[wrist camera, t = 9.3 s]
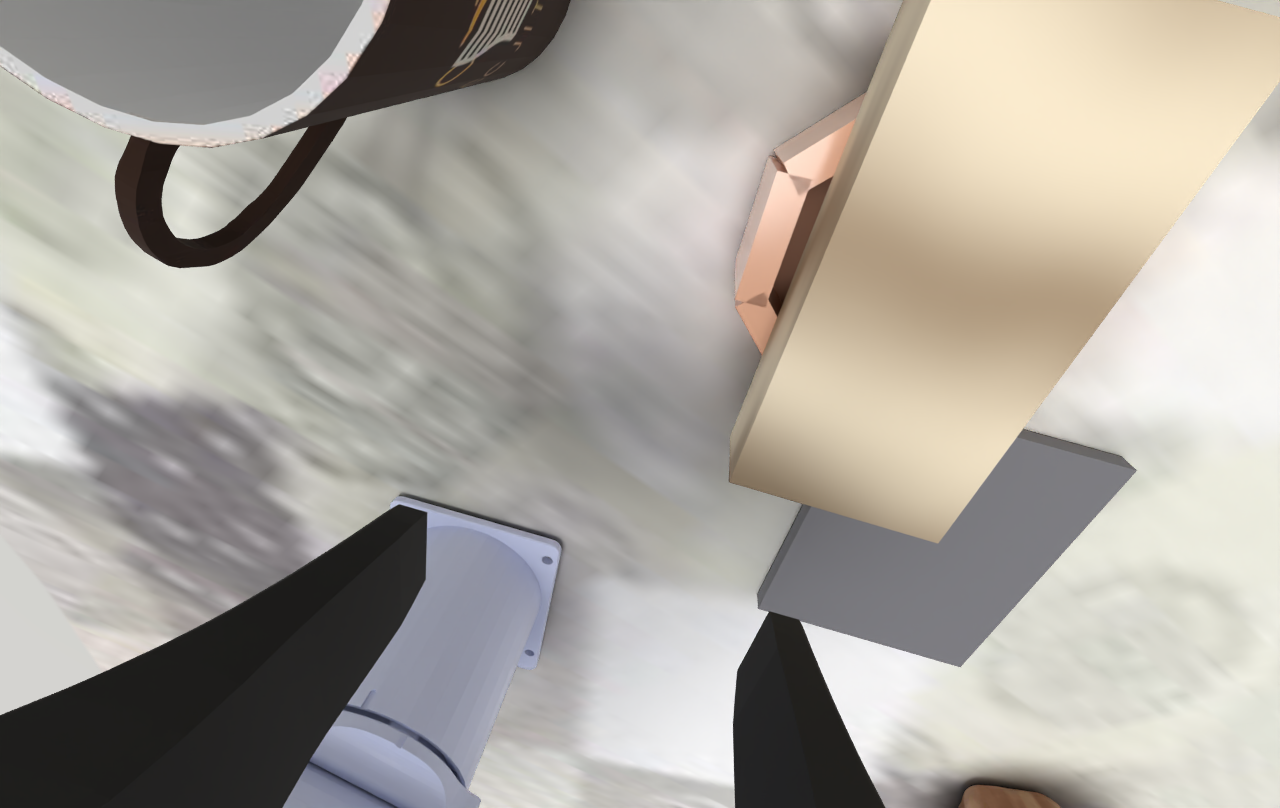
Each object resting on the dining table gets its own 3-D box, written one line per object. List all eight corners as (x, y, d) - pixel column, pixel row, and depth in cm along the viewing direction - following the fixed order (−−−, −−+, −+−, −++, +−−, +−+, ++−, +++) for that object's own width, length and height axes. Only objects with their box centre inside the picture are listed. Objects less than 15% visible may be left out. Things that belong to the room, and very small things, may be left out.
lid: (913, 489, 15) (938, 543, 14) (730, 436, 16) (728, 482, 14) (1207, 42, 10) (1319, 27, 8) (917, -37, 10) (959, -70, 8)
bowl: (942, 392, 18) (989, 460, 15) (713, 329, 18) (707, 381, 15) (1096, 134, 14) (1213, 144, 11) (800, 57, 14) (820, 42, 11)
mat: (953, 650, 24) (960, 667, 23) (757, 594, 24) (757, 608, 23) (1121, 456, 18) (1136, 470, 17) (863, 385, 18) (868, 396, 18)
